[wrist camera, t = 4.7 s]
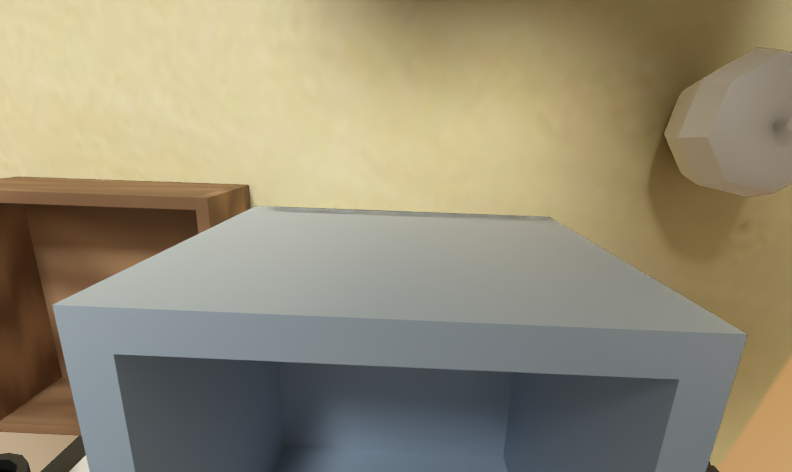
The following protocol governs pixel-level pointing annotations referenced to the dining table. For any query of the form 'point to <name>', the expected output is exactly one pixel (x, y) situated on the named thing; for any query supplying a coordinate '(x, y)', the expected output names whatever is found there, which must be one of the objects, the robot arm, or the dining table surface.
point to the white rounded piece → (737, 125)
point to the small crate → (393, 351)
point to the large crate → (79, 270)
